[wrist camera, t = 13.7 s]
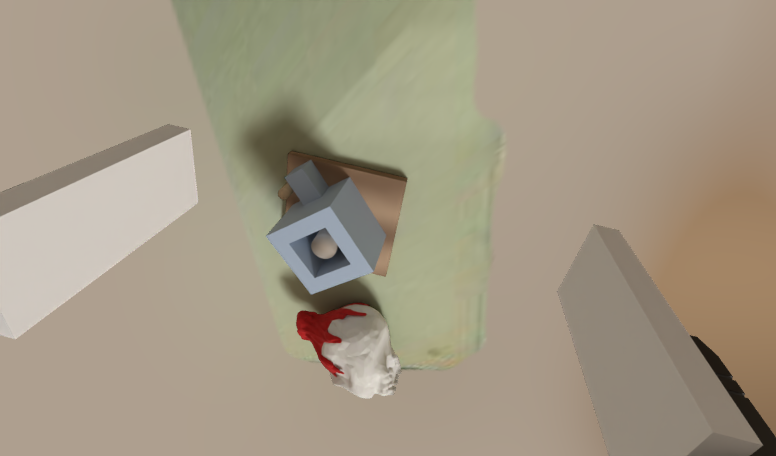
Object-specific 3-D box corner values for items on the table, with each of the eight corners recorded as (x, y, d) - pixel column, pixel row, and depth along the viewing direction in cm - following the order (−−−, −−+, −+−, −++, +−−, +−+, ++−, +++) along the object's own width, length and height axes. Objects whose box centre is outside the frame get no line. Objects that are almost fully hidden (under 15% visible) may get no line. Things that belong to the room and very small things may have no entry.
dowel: (289, 176, 42) (278, 188, 39) (299, 179, 42) (289, 190, 39) (289, 186, 43) (277, 198, 40) (299, 189, 43) (288, 200, 40)
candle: (404, 364, 55) (310, 327, 57) (422, 308, 49) (316, 270, 51) (385, 419, 47) (277, 375, 50) (403, 362, 41) (280, 315, 44)
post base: (291, 150, 41) (262, 175, 36) (407, 178, 41) (397, 208, 35) (287, 246, 48) (262, 281, 42) (386, 271, 48) (375, 310, 42)
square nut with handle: (386, 235, 44) (373, 271, 38) (330, 257, 47) (311, 294, 41) (332, 148, 39) (308, 174, 33) (274, 179, 42) (243, 207, 37)
